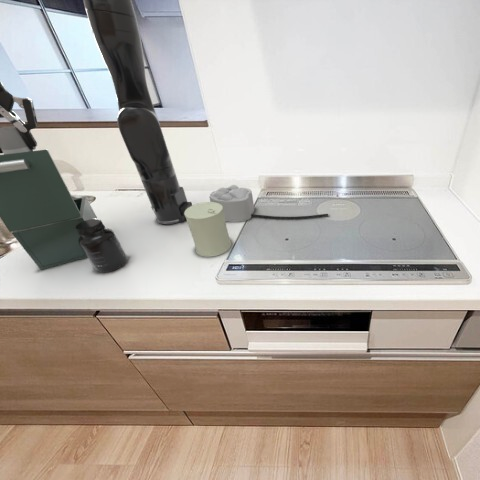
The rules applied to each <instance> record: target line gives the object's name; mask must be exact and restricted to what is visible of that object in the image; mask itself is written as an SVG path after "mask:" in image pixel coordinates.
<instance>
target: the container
mask: <svg viewBox="0 0 480 480" xmlns="http://www.w3.org/2000/svg"><path fill="white" fill-rule="evenodd" d="M20 133H21V131H20V130H19V129H18V128H16V127H15V126H2V127H0V148H1V150H2V152H3V153H2V154H3V155H4V154H12V153H21V152H29V151H34V150H30V149H29V147H28V145H27V144H26V142H25V141H24V139H23V137H22V136H21V134H20Z"/></svg>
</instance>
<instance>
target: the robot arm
mask: <svg viewBox="0 0 480 480" xmlns="http://www.w3.org/2000/svg"><path fill="white" fill-rule="evenodd" d="M82 1H83V4H84V5H83V6H84V9H85V12H86V16H87V19H88V22H89V26H90V29H91V32H92V35H93V37H94V41H95V43H96V46H97V49H98V51H99V52H100V55H101V58H102V60H103V62H104V64H105V66H106V68H107V70H108V73H109V75H110V76H111V80H112V83H113V87H114V90H115V97H116V100H117V106H118V114H117V118H116V122H117V128H118V130H119V133H120V135H121V137H122V141H123V142H124V145H125V147H126V149H127V152H128V154H129V157H130V158H131V161H132V162H133V163H134V166H135V168H136V170H137V173H138V175H139V178H140V181H141V184H142V186H143V188H144V190H145V193H146V196H147V199H148V201H149V203H150V209H151V211H152V212H153V213H154V216H155V219H156V221H157V223H158V224H161V225H173V224H178V223H184V222H185V221H186V217H185V215H184V212H185V210H186V209H187V208H189V207H190V206H192V205H193V203H192V201H188V199H187V196H186V192H185V189H184V187H183V186H180V183H179V180H178V177H177V174H176V171H175V168H174V164H173V160H172V158H171V155H170V151H169V149H168V146H167V143H166V140H165V136H164V134H163V130H162V127H161V124H160V120H159V117H158V115H157V113H156V110H155V107H154V104H153V101H152V98H151V94H150V91H149V88H148V82H147V76H146V68H145V67H146V66H145V58H144V50H143V44H142V38H141V33H140V29H139V28H140V27H139V24H138V19H137V15H136V12H135V8H134V4H133V1H132V0H82ZM15 103H16V104H17V105H18V106H19V108H20V109H23V110H24V115H25V117H26V122H24V121H23V120H22V119H21V117H20V116H19V115H18V114H17V113H16V112H14V111H13V108H14V105H15ZM0 119H6V121H8V122H9V123H10V124H12V125H13V127H16V128H18V129H19V130H20V131H21V133H20V134H21V136H22V137H23V139H24V141H25V142H26V144H27V145H28V147H29V149H30V150H33V151H36V148H37V147H38V142H37V140H36V138H35V137H34V135H33V133H32V132H31V130H33V129H36V128H37V127H38V126H39V123H38V118H37V114H36V110H35V105H34V100H32V98H31V97H18V96H14V95H13V94H12V93H10V92H9V91H8V89H6V87H5V85H4V84H3V83H2V80H0ZM0 154H4V153H3V152H2V150H1V148H0ZM251 216H252V217H255V218H264V219H275V220H277V219H279V220H298V219H299V220H301V219H313V218H314V219H315V218H321V217H329V213H321V214H313V215H312V214H311V215H300V216H298V215H297V216H280V215H279V216H278V215H277V216H276V215H264V214H255V213H252V214H251Z"/></svg>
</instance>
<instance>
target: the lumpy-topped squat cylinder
mask: <svg viewBox="0 0 480 480" xmlns="http://www.w3.org/2000/svg"><path fill="white" fill-rule="evenodd" d="M252 191H253V190H252V189H250V188H246V187H239V186H238V185H236V184H231V185H229V186H228V187H219V188H218V189H216V190H215V191H212V192H210V193H209V195H208V197H209V202H216V203H219V204H221V205H222V207H223V213H224V217H225V222H233V223H235V222H237V223H238V222H246V221H249V220H251V218H252V217H253V216H251V214H254V212H255V211H256V210H255V204H254V198H253V192H252Z"/></svg>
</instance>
